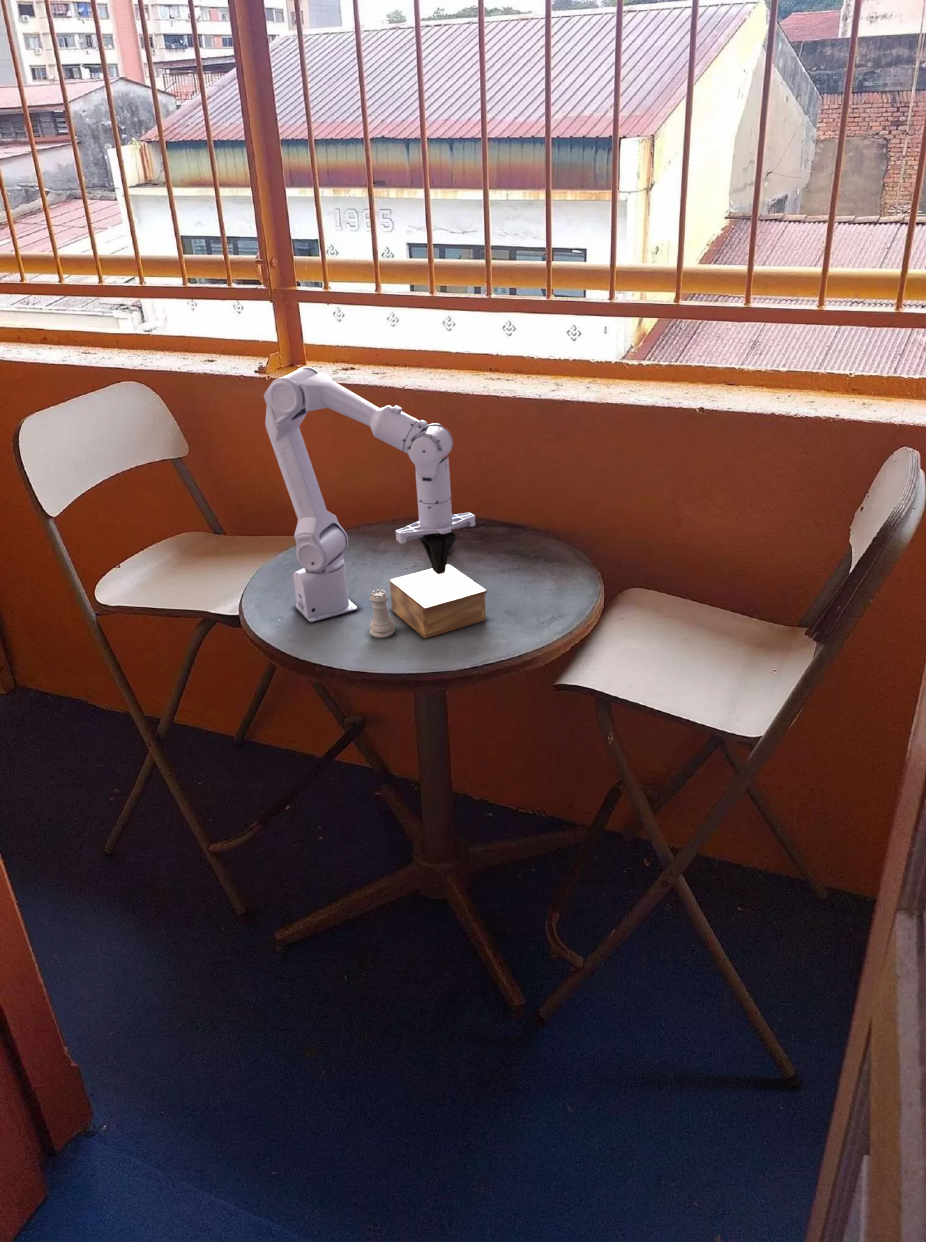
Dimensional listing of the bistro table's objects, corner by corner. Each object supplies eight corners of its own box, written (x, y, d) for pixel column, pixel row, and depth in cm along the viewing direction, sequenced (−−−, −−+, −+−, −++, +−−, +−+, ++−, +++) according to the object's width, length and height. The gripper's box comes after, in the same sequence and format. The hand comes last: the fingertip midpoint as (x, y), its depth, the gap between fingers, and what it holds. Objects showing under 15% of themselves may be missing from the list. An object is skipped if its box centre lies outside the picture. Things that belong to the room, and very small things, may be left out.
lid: (487, 593, 163) (486, 590, 163) (424, 611, 158) (424, 608, 158) (448, 566, 175) (448, 563, 174) (389, 582, 169) (389, 579, 169)
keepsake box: (485, 620, 167) (484, 591, 164) (424, 638, 162) (422, 609, 159) (450, 594, 177) (448, 567, 175) (392, 610, 172) (389, 582, 169)
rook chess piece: (400, 632, 164) (396, 591, 160) (380, 641, 161) (376, 600, 158) (384, 624, 167) (380, 584, 163) (365, 633, 164) (360, 593, 161)
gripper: (406, 514, 150) (412, 589, 157) (482, 496, 156) (485, 569, 163) (388, 502, 156) (394, 575, 162) (462, 485, 162) (466, 556, 168)
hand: (438, 571), depth 163 cm, fingers closed
